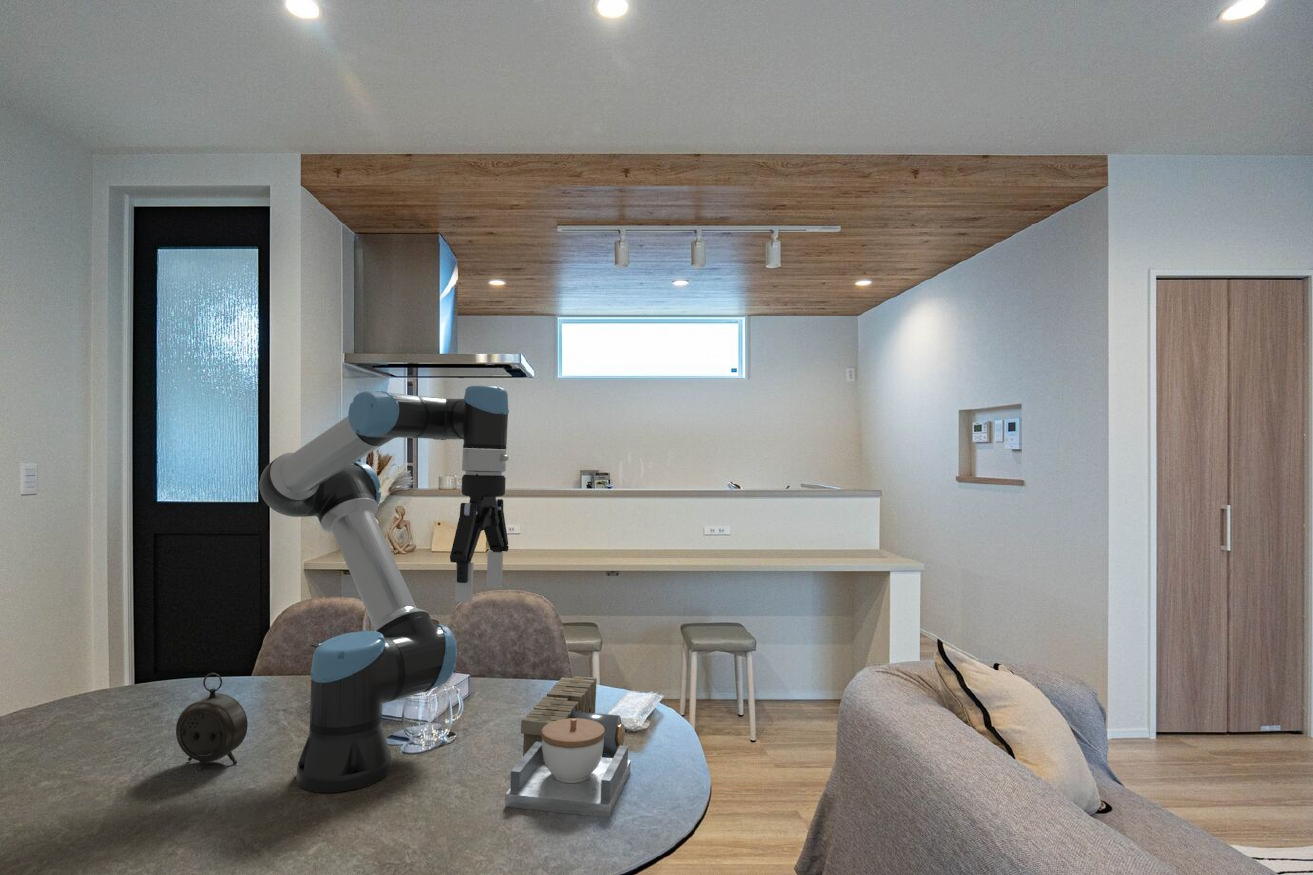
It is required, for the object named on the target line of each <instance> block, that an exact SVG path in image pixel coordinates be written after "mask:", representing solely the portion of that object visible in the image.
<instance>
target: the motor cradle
mask: <svg viewBox="0 0 1313 875" xmlns="http://www.w3.org/2000/svg"><path fill="white" fill-rule="evenodd" d="M570 718H581V719H588V720H593V721H596V722H598V723H600V724H601V725H603V727H604V729H605V736H604V746H603V754H602V755H611V756H612V757H603V756H602V757H601V760H600V763H599V765H598V767H597V768H596V769H595V771H594V772H593V773H592V774H590V777H589V778H588V779H587V780H585V781H582V782H578V783H564V782H560V781H558V780H556V779H555V777H554V775H553V774H552V773H551V772H550V771H549V770H548V768H547V767H546V765H545V762H544V758H543V752H542V739H541V738H539V739H538V740H537V741H536V742H535V743H534V744H533V746H532V747H531V748H530V749H529V750H528V752H527V753H526V754H525V755H524V756H523V755H522V757H521V759H519V761H518V762H517V763H516V764H515V766H514V767H513V768H512V769H511V770H510V788H508V789H507V791H506V793H505V799H504V800H505V801H504V804H505V805H504V807H505V808H513V809H514V808H516V809H525V810H532V811H542V812H552V813H553V812H554V813H563V814H571V815H580V816H581V815H582V816H590V817H598V818H599V817H601V818H607V819H608V818H610V816H611V815H612V812H613V810H614V808H615V806H616V804H617V801H618V799H619V796H620V794H621V793H622V791H623V788H624V786H625V784H626V782H627V779H628V778H629V775H630V773H631V766H632V763H631V762H632V761H631V759H629V746H628V745H624V742H625V735H626V733H625V732H626V730H625V729H626V727H625V724H624V723H622V719H621V715H620V714H607V713H596V712H595V713H585V712H572V713H571V715H570Z"/></svg>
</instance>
